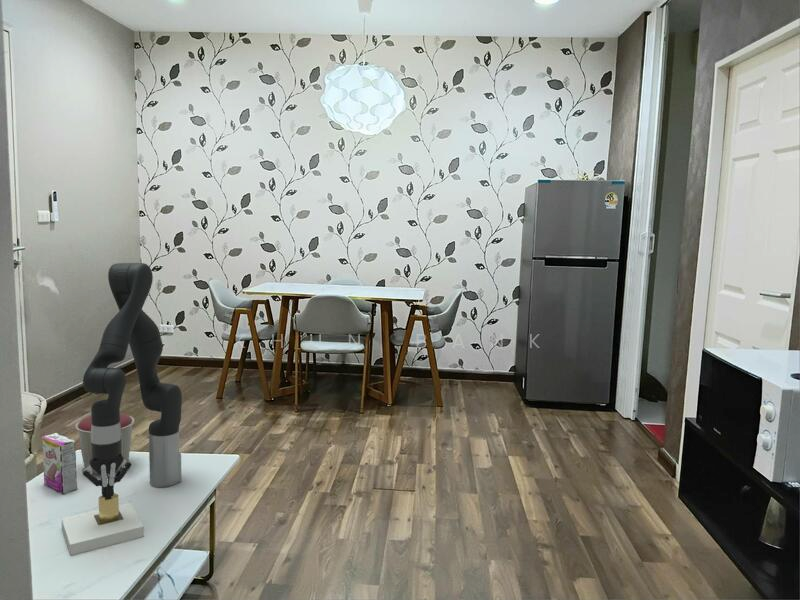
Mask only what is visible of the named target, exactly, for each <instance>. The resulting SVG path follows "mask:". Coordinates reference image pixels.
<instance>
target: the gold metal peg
mask: <svg viewBox="0 0 800 600" xmlns="http://www.w3.org/2000/svg"><path fill="white" fill-rule="evenodd" d="M119 505H120V504H119V494H118V493H115V492H114V494H113V496H111V498H108V499H105V497H103V495H102V494H101V495H100V496H99V497H98V510H99V524H98V525H102V524H107V523H111V522H115V521H119Z"/></svg>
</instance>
